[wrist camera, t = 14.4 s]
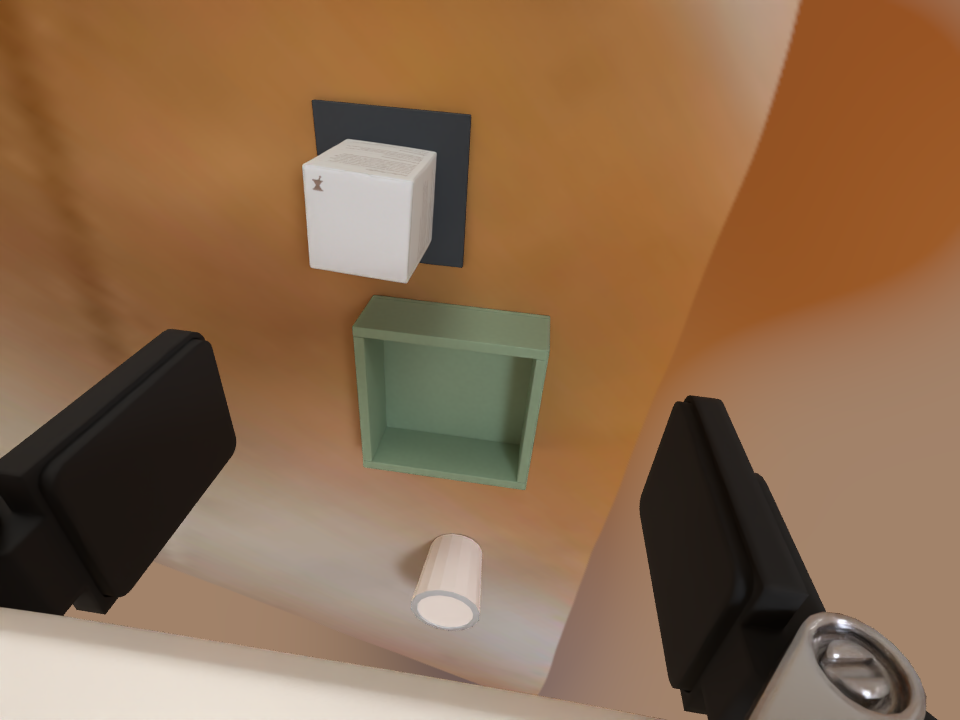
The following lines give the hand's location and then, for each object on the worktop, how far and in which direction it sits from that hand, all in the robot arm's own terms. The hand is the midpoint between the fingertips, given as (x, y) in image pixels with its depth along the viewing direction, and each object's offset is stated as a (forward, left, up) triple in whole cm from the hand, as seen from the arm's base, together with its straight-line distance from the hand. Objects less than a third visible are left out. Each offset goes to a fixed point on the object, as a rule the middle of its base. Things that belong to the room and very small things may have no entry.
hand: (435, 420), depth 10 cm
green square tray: (+18, -3, -26) cm, 32 cm away
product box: (+3, -8, -26) cm, 27 cm away
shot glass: (+41, -2, -26) cm, 49 cm away
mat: (+3, -8, -26) cm, 28 cm away
